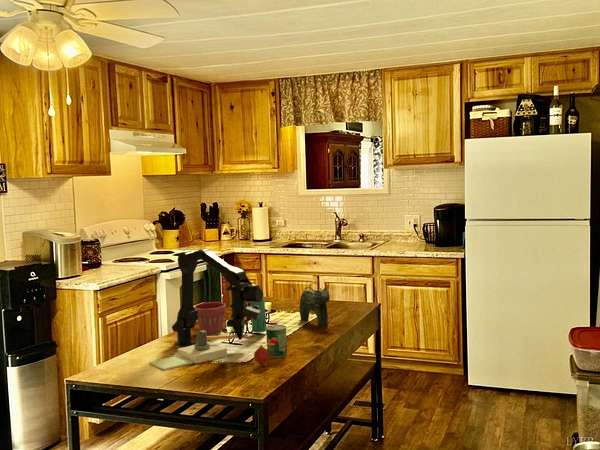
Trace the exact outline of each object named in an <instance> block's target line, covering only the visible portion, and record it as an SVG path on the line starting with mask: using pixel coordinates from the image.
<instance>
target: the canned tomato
mask: <svg viewBox="0 0 600 450" xmlns="http://www.w3.org/2000/svg"><path fill="white" fill-rule="evenodd" d="M265 332H266V333H265V334H266V349H267V350H268V352H269V356H270V357H269V358H283V357H286V356H287V355H288V345H287V341H288V340H287V326H285V325H283V324H272V325H267V326H266V331H265Z"/></svg>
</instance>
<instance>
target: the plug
mask: <svg viewBox="0 0 600 450" xmlns="http://www.w3.org/2000/svg"><path fill="white" fill-rule="evenodd" d="M195 332H196V334H195V335H196V343H194V344H193V345H194V347H195V350H198V351H203V350H207V349H209V348H210V344H209V343H207V342H208V340H207V336H208V335H207V331H206V330H200V329H198V330H196V331H195Z"/></svg>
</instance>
